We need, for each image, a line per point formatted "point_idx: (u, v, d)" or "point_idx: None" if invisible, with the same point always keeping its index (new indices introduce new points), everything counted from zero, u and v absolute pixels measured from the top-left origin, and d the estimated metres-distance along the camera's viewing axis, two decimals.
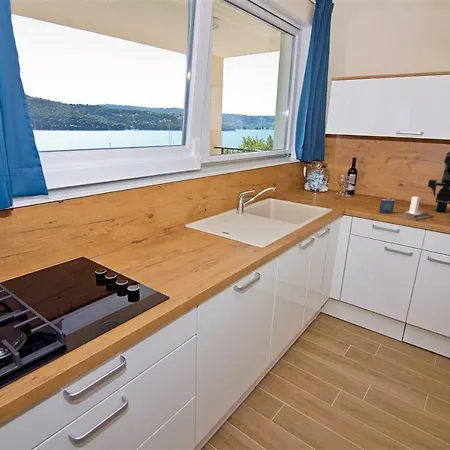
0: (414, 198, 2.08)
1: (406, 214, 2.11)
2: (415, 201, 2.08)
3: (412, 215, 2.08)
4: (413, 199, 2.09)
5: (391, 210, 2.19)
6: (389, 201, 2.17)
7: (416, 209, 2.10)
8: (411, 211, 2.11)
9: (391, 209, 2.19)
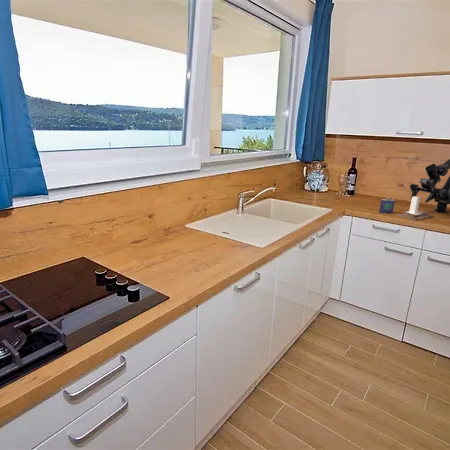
0: (414, 198, 2.08)
1: (406, 214, 2.11)
2: (415, 201, 2.08)
3: (412, 215, 2.08)
4: (413, 199, 2.09)
5: (391, 210, 2.19)
6: (389, 201, 2.17)
7: (416, 209, 2.10)
8: (411, 211, 2.11)
9: (391, 209, 2.19)
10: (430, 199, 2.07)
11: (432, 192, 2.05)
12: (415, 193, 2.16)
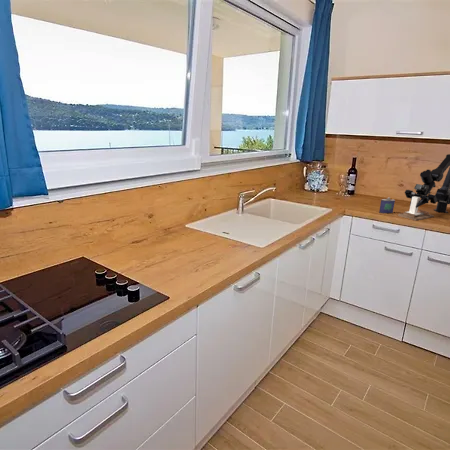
0: (414, 198, 2.08)
1: (406, 214, 2.11)
2: (415, 201, 2.08)
3: (412, 215, 2.08)
4: (413, 199, 2.09)
5: (391, 210, 2.19)
6: (389, 201, 2.17)
7: (416, 209, 2.10)
8: (411, 211, 2.11)
9: (391, 209, 2.19)
10: (420, 204, 2.08)
11: (422, 197, 2.07)
12: None
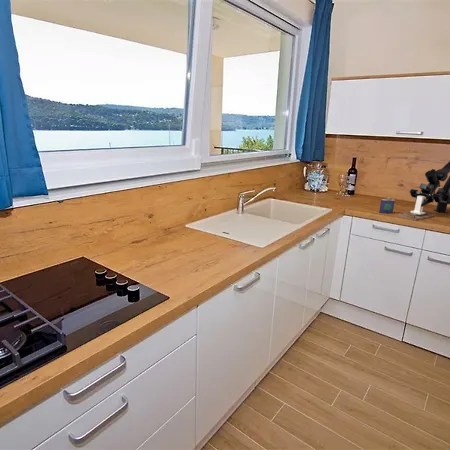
0: (419, 197, 2.11)
1: (406, 214, 2.11)
2: (420, 200, 2.11)
3: (412, 215, 2.08)
4: (418, 198, 2.12)
5: (391, 210, 2.19)
6: (389, 201, 2.17)
7: (421, 208, 2.12)
8: (416, 210, 2.14)
9: (391, 209, 2.19)
10: (425, 203, 2.11)
11: (427, 196, 2.09)
12: None
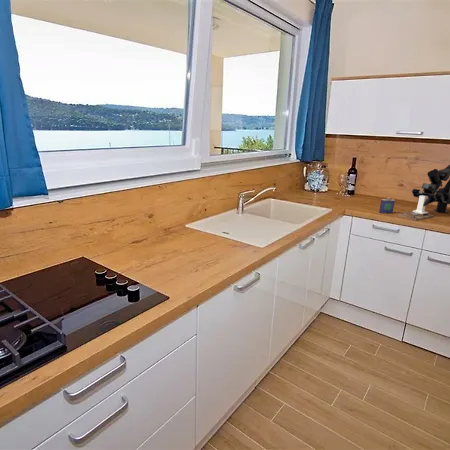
0: (421, 197, 2.12)
1: (406, 214, 2.11)
2: (422, 200, 2.12)
3: (412, 215, 2.08)
4: (420, 198, 2.13)
5: (391, 210, 2.19)
6: (389, 201, 2.17)
7: (423, 208, 2.14)
8: (418, 210, 2.15)
9: (391, 209, 2.19)
10: (428, 203, 2.12)
11: (430, 196, 2.11)
12: None
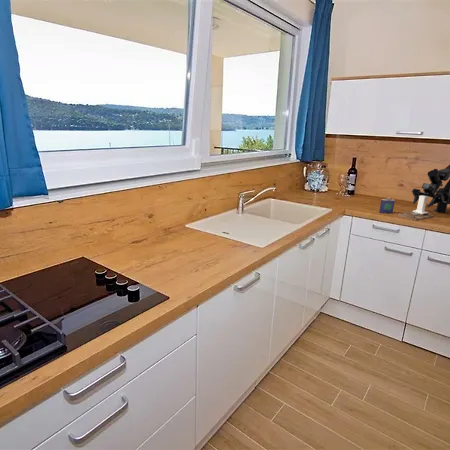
0: (421, 197, 2.12)
1: (406, 214, 2.11)
2: (422, 200, 2.12)
3: (412, 215, 2.08)
4: (420, 198, 2.13)
5: (391, 210, 2.19)
6: (389, 201, 2.17)
7: (423, 208, 2.14)
8: (418, 210, 2.15)
9: (391, 209, 2.19)
10: (432, 204, 2.10)
11: (434, 197, 2.08)
12: (417, 198, 2.19)
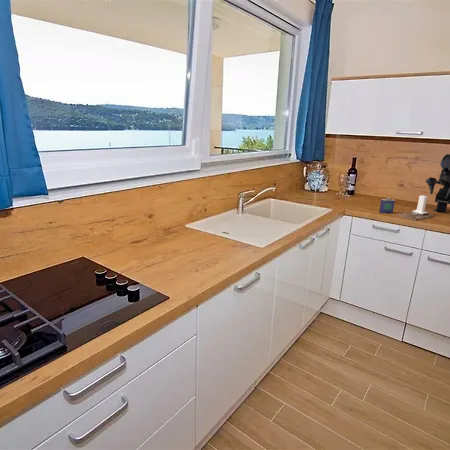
0: (421, 197, 2.12)
1: (406, 214, 2.11)
2: (422, 200, 2.12)
3: (412, 215, 2.08)
4: (420, 198, 2.13)
5: (391, 210, 2.19)
6: (389, 201, 2.17)
7: (423, 208, 2.14)
8: (418, 210, 2.15)
9: (391, 209, 2.19)
10: None
11: None
12: None
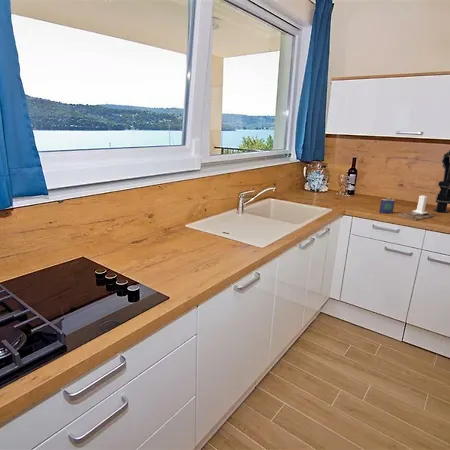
0: (421, 197, 2.12)
1: (406, 214, 2.11)
2: (422, 200, 2.12)
3: (412, 215, 2.08)
4: (420, 198, 2.13)
5: (391, 210, 2.19)
6: (389, 201, 2.17)
7: (423, 208, 2.14)
8: (418, 210, 2.15)
9: (391, 209, 2.19)
10: None
11: None
12: None
